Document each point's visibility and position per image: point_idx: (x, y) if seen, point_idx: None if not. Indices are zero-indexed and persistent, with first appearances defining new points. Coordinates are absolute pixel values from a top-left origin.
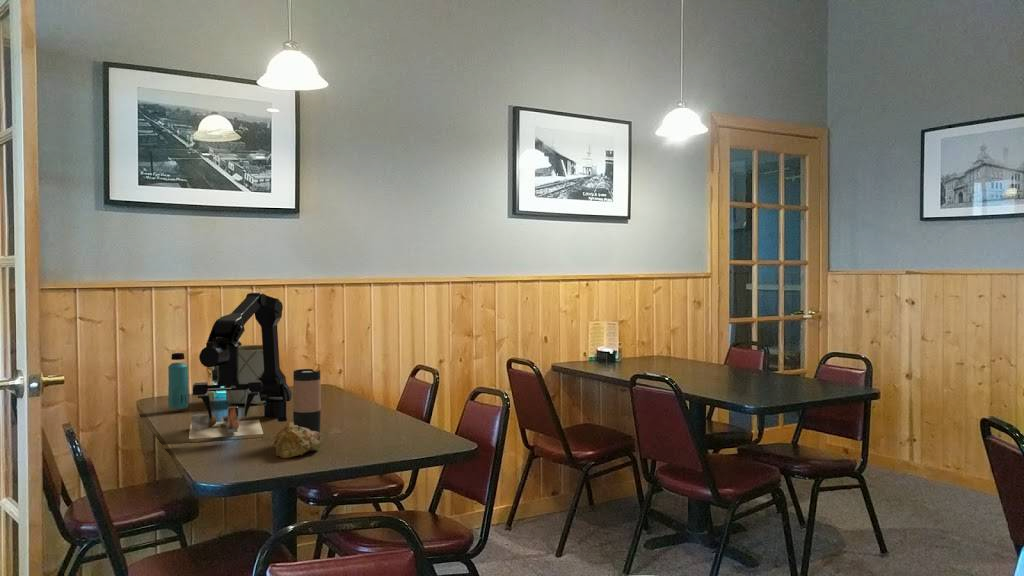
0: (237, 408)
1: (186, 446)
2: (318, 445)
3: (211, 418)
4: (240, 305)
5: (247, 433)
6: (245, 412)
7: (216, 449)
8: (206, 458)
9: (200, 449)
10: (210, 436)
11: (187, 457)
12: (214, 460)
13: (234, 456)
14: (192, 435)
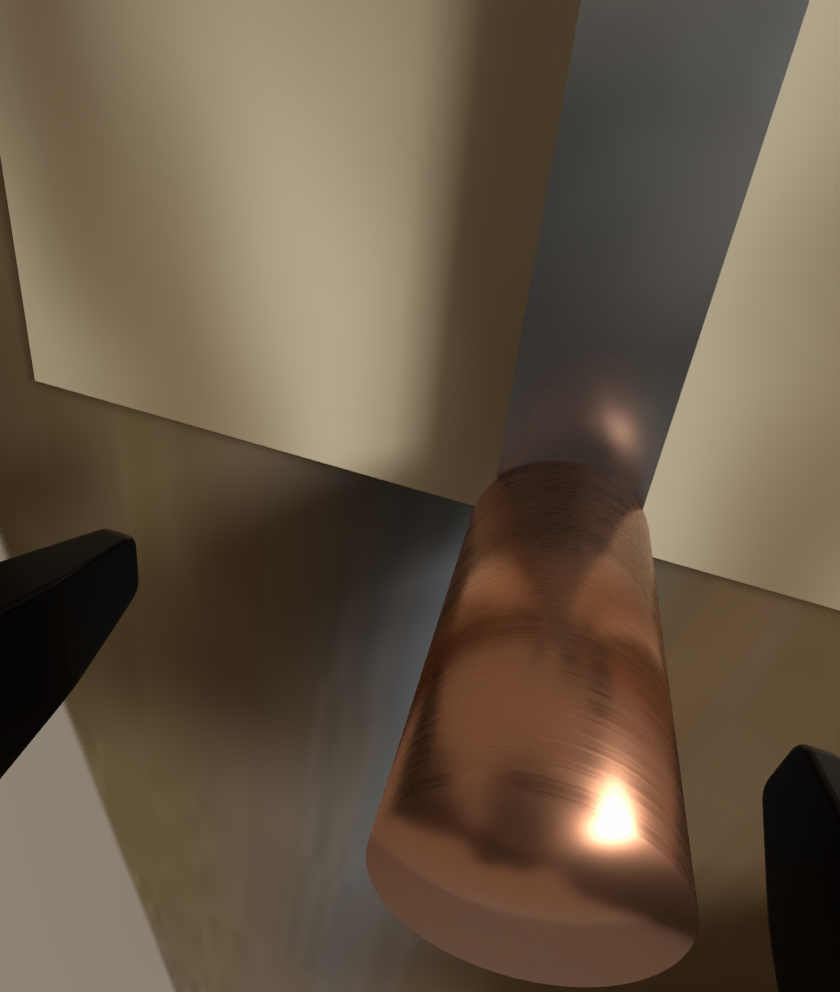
0: (612, 959)
1: (73, 492)
2: None
3: (131, 595)
4: None
5: (789, 496)
6: (783, 920)
7: (314, 728)
8: (234, 861)
9: (196, 658)
10: (274, 392)
11: (125, 784)
12: (275, 912)
13: (396, 921)
14: (44, 178)
